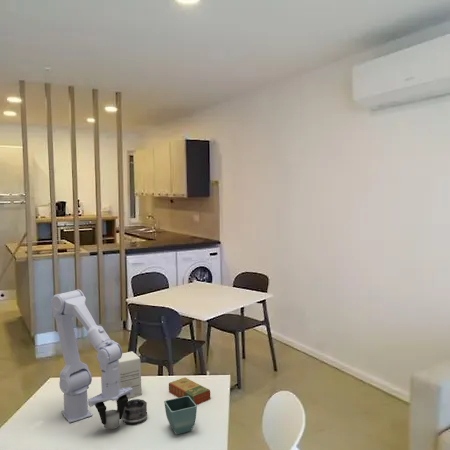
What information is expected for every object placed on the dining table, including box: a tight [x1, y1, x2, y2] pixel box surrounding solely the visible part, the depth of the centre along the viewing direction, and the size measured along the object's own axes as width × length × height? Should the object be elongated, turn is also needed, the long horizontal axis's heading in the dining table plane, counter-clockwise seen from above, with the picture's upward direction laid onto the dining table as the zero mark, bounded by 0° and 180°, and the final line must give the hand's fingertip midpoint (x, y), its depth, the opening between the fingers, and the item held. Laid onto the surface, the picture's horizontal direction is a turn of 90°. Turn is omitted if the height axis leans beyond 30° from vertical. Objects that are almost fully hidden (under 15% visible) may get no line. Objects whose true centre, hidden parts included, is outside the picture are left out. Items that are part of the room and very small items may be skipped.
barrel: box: [121, 398, 148, 426], centre depth 156 cm, size 8×8×5 cm
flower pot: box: [163, 396, 198, 435], centre depth 148 cm, size 9×9×9 cm
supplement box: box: [119, 351, 142, 399], centre depth 175 cm, size 9×9×15 cm
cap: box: [103, 409, 121, 430], centre depth 149 cm, size 5×5×4 cm
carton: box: [168, 377, 211, 406], centre depth 173 cm, size 8×16×4 cm, turn 42°
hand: (111, 420), depth 149 cm, fingers closed on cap, 5 cm apart
